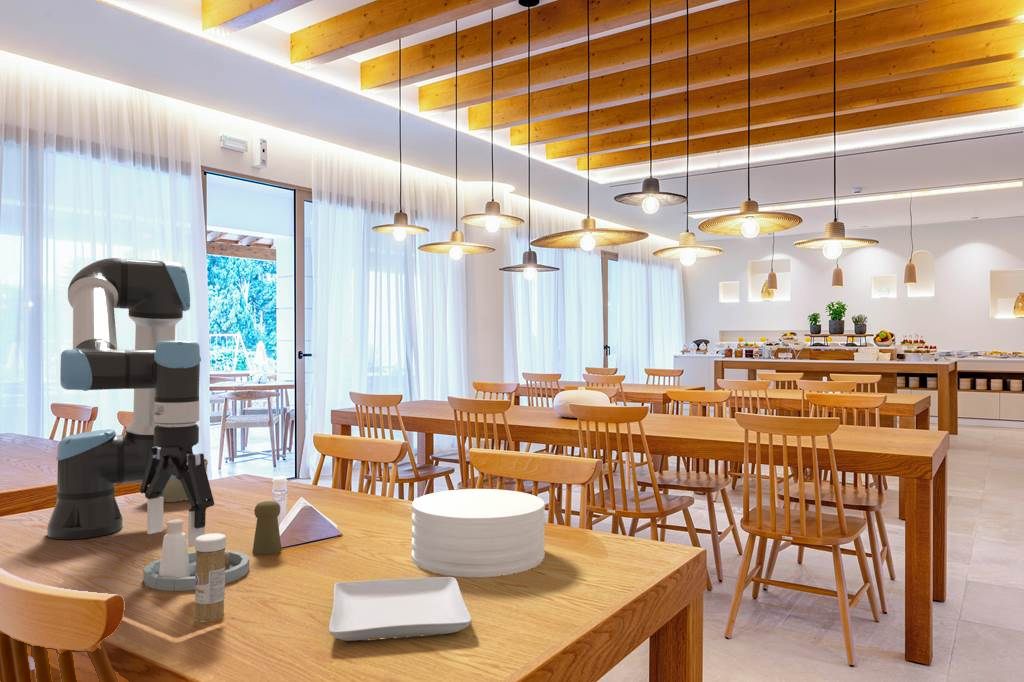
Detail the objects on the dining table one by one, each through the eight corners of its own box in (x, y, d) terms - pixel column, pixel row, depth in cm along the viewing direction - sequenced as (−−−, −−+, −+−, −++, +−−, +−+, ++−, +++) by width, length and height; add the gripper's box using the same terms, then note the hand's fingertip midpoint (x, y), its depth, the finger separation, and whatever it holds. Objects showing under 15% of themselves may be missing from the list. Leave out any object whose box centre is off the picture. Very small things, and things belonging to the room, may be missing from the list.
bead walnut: (202, 577, 131) (202, 555, 131) (221, 571, 135) (221, 550, 135) (214, 581, 129) (214, 559, 129) (233, 575, 132) (234, 554, 132)
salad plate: (473, 641, 105) (473, 619, 105) (327, 653, 101) (328, 630, 101) (455, 593, 126) (455, 574, 126) (333, 601, 122) (333, 581, 122)
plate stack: (563, 547, 155) (564, 495, 155) (510, 586, 130) (510, 524, 130) (453, 532, 167) (453, 484, 167) (384, 565, 141) (385, 508, 141)
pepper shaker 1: (197, 577, 131) (197, 518, 131) (174, 586, 126) (175, 525, 126) (174, 574, 133) (174, 516, 133) (151, 583, 127) (151, 522, 128)
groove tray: (124, 581, 130) (124, 567, 130) (212, 557, 145) (213, 545, 145) (179, 601, 120) (179, 586, 120) (268, 573, 135) (268, 560, 135)
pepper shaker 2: (272, 559, 145) (272, 505, 145) (245, 557, 146) (246, 504, 146) (287, 551, 150) (287, 499, 151) (261, 549, 152) (262, 498, 152)
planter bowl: (166, 508, 190) (166, 467, 190) (133, 500, 198) (134, 462, 198) (219, 497, 203) (219, 460, 203) (186, 491, 212) (187, 455, 212)
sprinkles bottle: (188, 621, 112) (189, 536, 112) (216, 612, 115) (217, 530, 115) (202, 628, 109) (203, 541, 109) (230, 619, 112) (231, 535, 112)
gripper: (121, 420, 133) (119, 531, 133) (196, 432, 119) (195, 556, 120) (159, 416, 140) (158, 523, 140) (235, 428, 126) (234, 546, 126)
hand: (175, 538), depth 130 cm, fingers open, 13 cm apart
